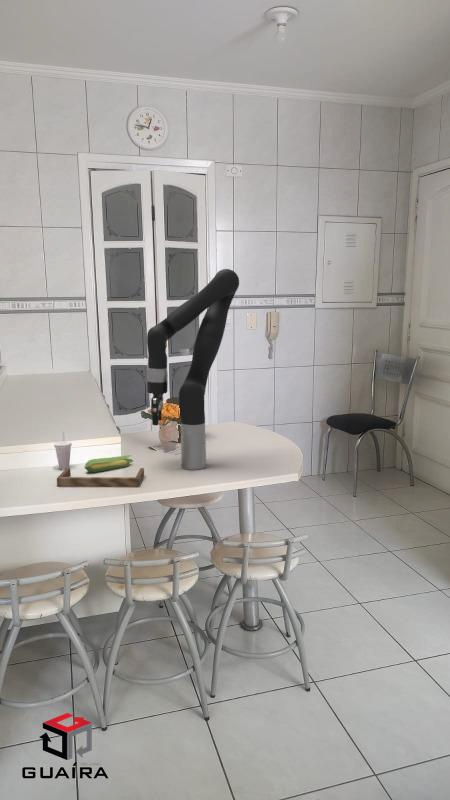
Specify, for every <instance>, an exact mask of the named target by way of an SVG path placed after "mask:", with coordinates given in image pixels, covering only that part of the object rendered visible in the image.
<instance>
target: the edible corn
mask: <svg viewBox="0 0 450 800" xmlns="http://www.w3.org/2000/svg"><path fill="white" fill-rule="evenodd" d="M130 457H132V454H127V455H120V456H112V457H103V458H92V459H89V460H88V461H87V462H86V463H85V465H84V469H85V470H86V471H88V473H91V474H95V472H96V473H100V472H101V471H102V472H106V471H112V470H116V469H117V470H118V469H122V468H129V466H132V464H131V463H133V462H134V460H133V459H131V458H130Z"/></svg>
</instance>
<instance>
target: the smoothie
mask: <svg viewBox="0 0 450 800" xmlns="http://www.w3.org/2000/svg"><path fill="white" fill-rule="evenodd" d="M53 444H54V447H53V448H55V453H56V458H57V463H58V464H57V465H58V469H59V470H65V469H66V468H70V463H71V452H72V451H71V449H72V448H71V447H72V445H73V444H72V441H68V440H65V432H64V431H62V441H57V442H55V443H53Z"/></svg>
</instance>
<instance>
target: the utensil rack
mask: <svg viewBox="0 0 450 800" xmlns="http://www.w3.org/2000/svg"><path fill="white" fill-rule="evenodd" d="M144 477H145V468H143V467H140V469H139V470H138V472H137V474H136V476H135V477H128V476H127V477H125V476H124V477H120V476H117V477H116V476H115V477H114V476H112V477H111V476H110V477H109V476H107V477H106V476H105V477H104V476H102V477H97V476H96V477H95V476H94V477H93V476H92V477H91V476H85V477H84V476H82V477H81V476H72V477H71V467H69V468H66V469H63V471H62V472H61V473H60V474H59V475H58V476H57V477H56V487H59V488H61V487H64V488H65V487H67V488H68V487H71V488H72V487H73V488H81V487H83V488H85V487H87V488H88V487H89V488H90V487H91V488H101V487H102V488H103V487H105V488H113V487H114V488H139V487H140V485H141V483H142V481H143V479H144Z"/></svg>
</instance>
